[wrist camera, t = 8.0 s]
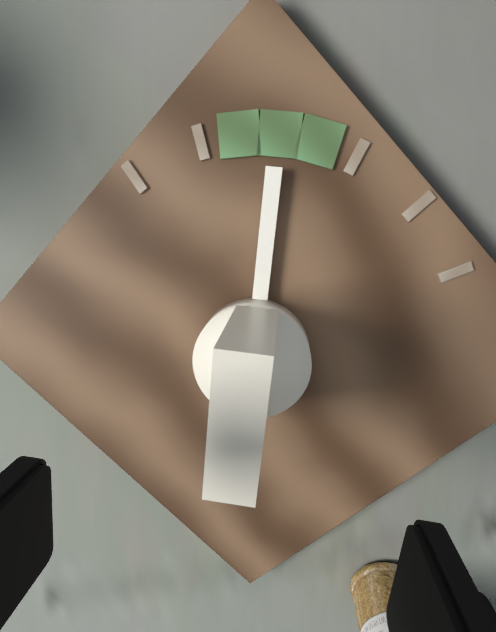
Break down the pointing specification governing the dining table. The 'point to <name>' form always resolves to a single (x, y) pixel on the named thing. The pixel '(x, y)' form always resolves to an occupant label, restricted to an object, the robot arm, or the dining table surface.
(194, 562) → the dining table surface
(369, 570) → the sprinkles bottle
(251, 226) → the dial board
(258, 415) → the tuning knob
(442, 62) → the dining table surface
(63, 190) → the dining table surface
